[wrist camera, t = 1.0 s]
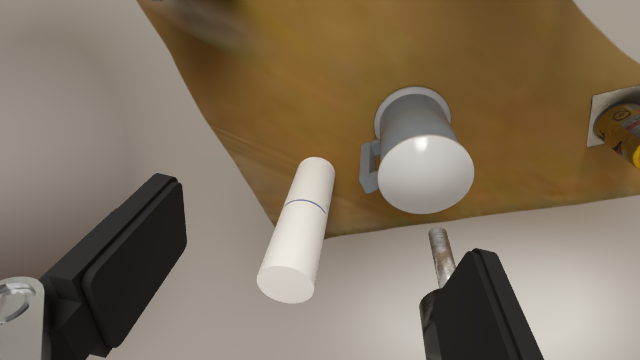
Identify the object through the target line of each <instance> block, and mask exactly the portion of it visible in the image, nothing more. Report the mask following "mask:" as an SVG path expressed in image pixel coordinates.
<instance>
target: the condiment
mask: <svg viewBox="0 0 640 360" xmlns="http://www.w3.org/2000/svg"><path fill="white" fill-rule="evenodd" d="M609 103H611V104H610V105H608V104H609ZM607 106H608V107H607ZM606 107H607V108H606ZM600 144H607V145H608V146H609V147H611V148H612V149H613V150H615V151H616V152H617V153H618V154H620V155H621V156H622V157H624V158H625V159H626V160H628V161H629V162H630V163H631V164H632V165H634V166H635V167H637V168H638V169H640V85H638V86H633V87H628V88H624V89H619V90H615V91H611V92H607V93H603V94H599V95H594V96H593V101H592V110H591V117H590V123H589V131H588V140H587V147H590V146H596V145H600Z"/></svg>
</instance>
